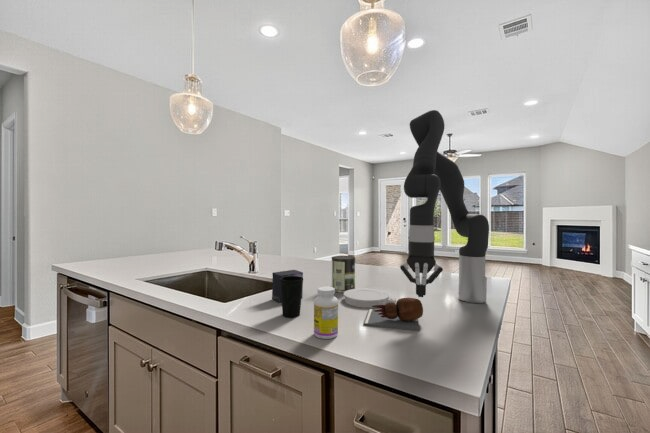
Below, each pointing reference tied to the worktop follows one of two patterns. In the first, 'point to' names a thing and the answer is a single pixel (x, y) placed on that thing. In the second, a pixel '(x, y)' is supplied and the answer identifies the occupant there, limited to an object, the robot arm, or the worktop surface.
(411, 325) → the book
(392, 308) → the wooden figurine
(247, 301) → the worktop surface
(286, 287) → the cup
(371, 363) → the worktop surface
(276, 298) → the small box
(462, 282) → the robot arm
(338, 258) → the coffee can
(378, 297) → the lid
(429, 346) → the worktop surface
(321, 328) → the supplement bottle
